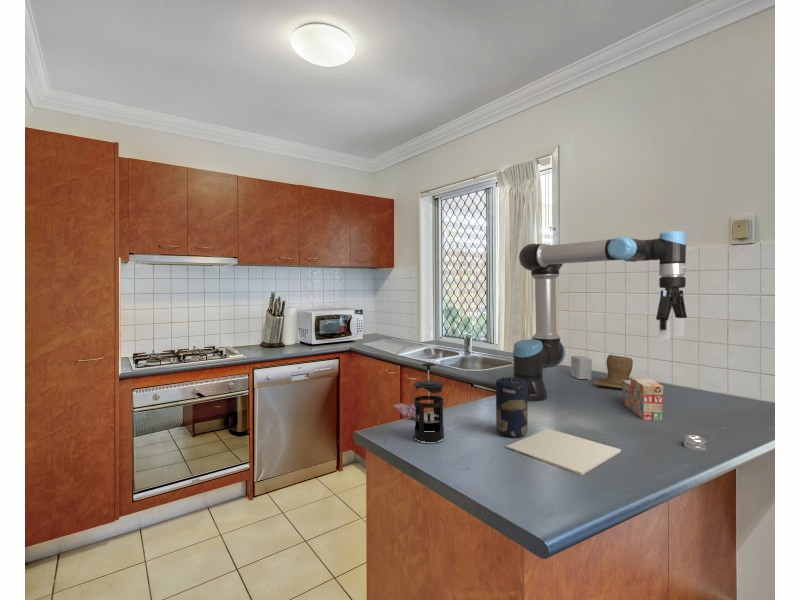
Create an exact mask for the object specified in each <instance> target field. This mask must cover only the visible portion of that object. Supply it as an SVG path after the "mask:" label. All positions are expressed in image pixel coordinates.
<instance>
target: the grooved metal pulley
mask: <svg viewBox="0 0 800 600" xmlns="http://www.w3.org/2000/svg"><path fill="white" fill-rule="evenodd" d="M683 440H684V441H683V446H684V447H685V448H686V447H687V448H686V449H688V448H690V449H689V450H691V449H694V450H693V451H696V450H699V451H698V452H703V450H704V451H706V449H707V448H706V447H707V446H706V445H705V444H707V441H706V439H705V438H704V437H703V436H700V435H695V434H685V435H684V437H683Z"/></svg>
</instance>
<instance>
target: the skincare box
mask: <svg viewBox="0 0 800 600" xmlns="http://www.w3.org/2000/svg"><path fill="white" fill-rule="evenodd" d="M592 361H593V360H592V358H588V357H586V356H582V355H571V356H570V376H571V375H572V376H574V377H576V378H578V379H588V380H587V381H591V380H592V368H593V367H592V364H593V363H592ZM572 376H571V377H572ZM574 377H573V378H574ZM576 378H575V379H576ZM578 379H577V380H578Z"/></svg>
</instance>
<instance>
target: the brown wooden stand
mask: <svg viewBox="0 0 800 600" xmlns="http://www.w3.org/2000/svg"><path fill="white" fill-rule="evenodd" d="M633 363H634V361H633V358H631V357H630V356H629V357H628V356H621V355H614V354H608V355H607V358H606V363H605V364H606V369H607V370H606V371H607V376H606V377H605V378H597V379H595V381H594V385H595V386H597V387H603V388H608V389H616V390H617V389H619V390H623V388H622V380H630V375H631V373H632V371H633V367H634V366H633V365H634V364H633Z"/></svg>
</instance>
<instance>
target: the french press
mask: <svg viewBox="0 0 800 600" xmlns="http://www.w3.org/2000/svg"><path fill="white" fill-rule="evenodd" d="M421 366H422V367H426V370H427V379H426V380H417V381H415V382H413V386H415V387H414V388H415V391H417V390H419V389H425V390H426V391H427V395H420V396H417V397H414V399H413V402H414V403H413V405H414V407H415V420H414V421H415V423H414V424H415V425H414V431H413V433H414V435H415V438H416V439H417V440H420V441H425V442H437V441H439V440H441V439H443V438H444V437H445V431H444V428H445V427H444V398H443V397H442V396H441V395H437V394H439V393H442V391H443V386H444V383H443V382H441V381H439V380H431V379H430V371H431V367H434V366H436V364H435V363H434V362H424V363H422V364H421ZM430 393H431V394H433V395H430ZM434 394H436V395H434ZM430 400H431V401H433V402H430ZM420 401H427V402H420ZM425 408H426V409H428V410H427V411H428V412H427V413H425ZM430 409H433V413H430ZM424 431H435V432H424Z"/></svg>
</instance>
